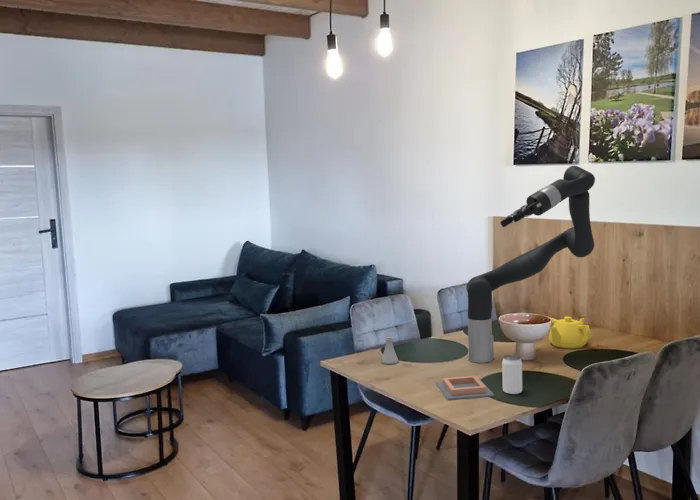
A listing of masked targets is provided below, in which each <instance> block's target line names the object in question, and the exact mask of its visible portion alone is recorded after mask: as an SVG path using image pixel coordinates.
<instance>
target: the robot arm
mask: <svg viewBox="0 0 700 500" xmlns="http://www.w3.org/2000/svg"><path fill="white" fill-rule="evenodd" d="M595 182H596V177H595V175H594V174H593V173H592V172H590V171H588V170H585V168H582V167H580V166H577V165H571V166H569V167H567V169H566V170H565V171H564V173H563V178H560V179H557V180H555V181H554V182H552V183H550V184H549V185H547V186H544V187H542V188H540V189H539V190H537V191H536V192H534V193H532V194H531V195H529V196H528V197H526V204H523V205H522V206H521V207H520V208H518V209H515V210H514V211H513V212H512V213H511V214H509V215H507V216H506V218H504V219H502V220H501V221H500V225H501V227H503V228H506V227H507V226H509V225H511V224H512V223H517V222H519V221H520V220H522V219H524V218H528V217H529V216H533V215H534V216H541V215H543V214H545V213H546V212H548V211H549V210H551V209H553V208H555V207H556V206H557V205H558V204H560V203H561V202H563V201H564V200H566V199H567V198H568V211H569V215H570V218H571V222H572V227H570V228H568V229H566V230H565V231H563V232H561V233H559V234H558V235H556V236H555V237H553V238H552V239H550V240H547V241H546V242H544V243H542V244H540V245H538V246H536V247H535V248H533V249H531V250H529V251H526V252H524V253H522V254H520V255H518V256H516V257H514V258H512V259H511V260H509V261H507V262H505V263H504V264H502V265H500V266H498V267H496V268H495V269H492V270H490V271H487V272H484V273H482V274H480V275H476V276H473V277H472V278H471V279H469V280H468V282H467V283H466V292H467V335H468V337H467V338H468V339H467V340H468V342H467V343H468V344H467V345H468V360H469V361H470V362H471V363H472V362H473V363H480V364H485V363H490V362H492V361H493V359H495V358H494V357H495V351H494V349H495V347H494V346H495V345H494V343H495V341H494V340H495V339H494V335H493V333H492V328H493V327H492V326H493V325H492V324H493V323H492V313H493V291H495V290H497V289H499V288H500V287H502V286H505V285H508V284H513V283H516V282H517V283H518V282H520V281H524V280H526V279H529V278H532V276H533V277H534V276H535V275H536V274H539V273H541V272H542V271H543V270H544V269H545V268H546V267H547V266H548V264H549V262H550V261H551V259H552V258H553V257H554V256H555V255H556V254H558V252H560V251H562V250H564V249H566V248H567V249H568V250H569V252H570V253H571V254H572V255H573V256H575V257H576V258H586V257H587V256H589V255H590V254H591V253H592V252H593V250H594V248H595V240H594V237H593V231H592V225H591V217H590V216H591V215H590V192H589V191H590V190H591V189H592V188H593V186H594V185H595Z"/></svg>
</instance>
